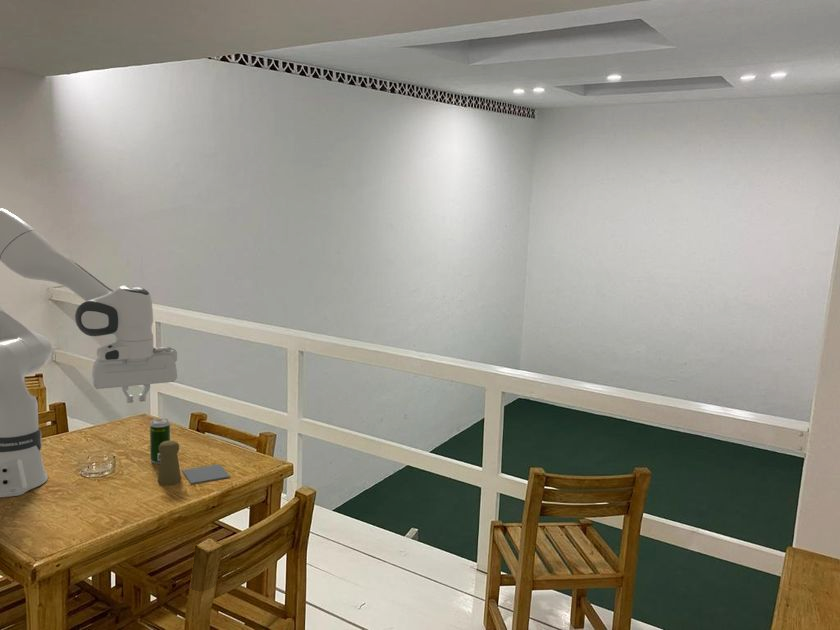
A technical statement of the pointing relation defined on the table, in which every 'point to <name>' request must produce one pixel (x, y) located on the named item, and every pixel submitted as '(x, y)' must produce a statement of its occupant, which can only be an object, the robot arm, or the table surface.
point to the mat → (205, 474)
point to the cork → (169, 463)
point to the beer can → (158, 437)
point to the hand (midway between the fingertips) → (136, 401)
